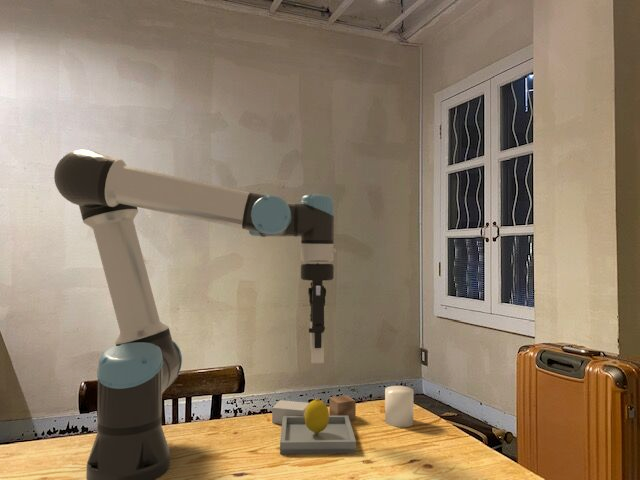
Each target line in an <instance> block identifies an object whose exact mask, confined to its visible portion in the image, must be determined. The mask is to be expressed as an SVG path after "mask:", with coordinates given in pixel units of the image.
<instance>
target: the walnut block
mask: <svg viewBox="0 0 640 480" xmlns="http://www.w3.org/2000/svg"><path fill="white" fill-rule="evenodd" d="M328 401H329V409H328V412H329V416H343V415H348V416H349V420H350V422H352V421H353V422H354V421H356V419H357V418H356V417H357V416H356V413H357V411H356V402H357V401H356V400H355V399H353V398H352V397H350V396H349V394H348V395H347V394H345V395H337V396H330V397H329V400H328Z"/></svg>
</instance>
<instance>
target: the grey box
mask: <svg viewBox="0 0 640 480" xmlns="http://www.w3.org/2000/svg"><path fill="white" fill-rule="evenodd" d="M309 403H310V402H307V401H306V402H304V401H294V400H293V401H292V400H281V399H280V400H279V401H278V402H277V403H275V404H274V406H272V409H271V410H272V411H271V412H272V413H271V417H272V419H271V423H272V424H280V425H282V419H283V416H305V410H306V407H307V405H308V404H309Z"/></svg>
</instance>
